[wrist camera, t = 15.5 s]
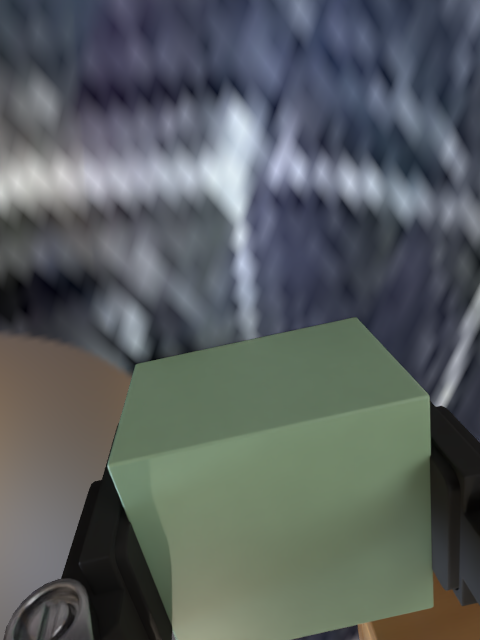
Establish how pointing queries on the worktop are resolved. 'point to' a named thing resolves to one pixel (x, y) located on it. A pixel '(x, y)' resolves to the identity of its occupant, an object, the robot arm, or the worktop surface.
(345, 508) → the pad
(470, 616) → the holder
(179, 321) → the worktop surface
